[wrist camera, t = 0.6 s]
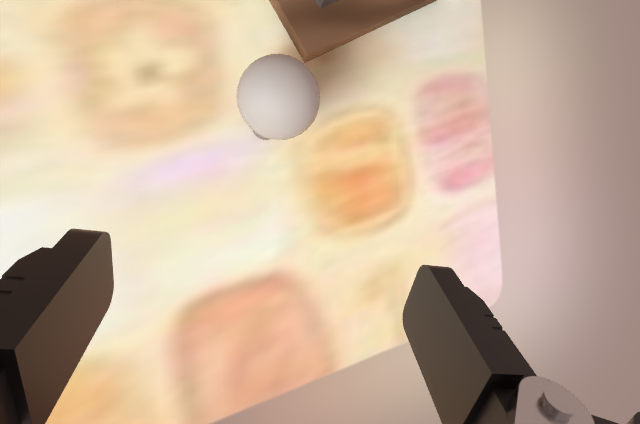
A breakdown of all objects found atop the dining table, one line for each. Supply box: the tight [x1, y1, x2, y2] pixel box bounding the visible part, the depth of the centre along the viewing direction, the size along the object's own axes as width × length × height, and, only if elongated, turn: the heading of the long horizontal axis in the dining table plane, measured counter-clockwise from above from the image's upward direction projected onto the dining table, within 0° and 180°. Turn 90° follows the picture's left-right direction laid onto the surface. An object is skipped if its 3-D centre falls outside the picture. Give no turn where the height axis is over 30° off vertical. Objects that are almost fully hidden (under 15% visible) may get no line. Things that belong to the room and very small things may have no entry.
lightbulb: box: [237, 54, 320, 140], centre depth 31 cm, size 6×6×11 cm
